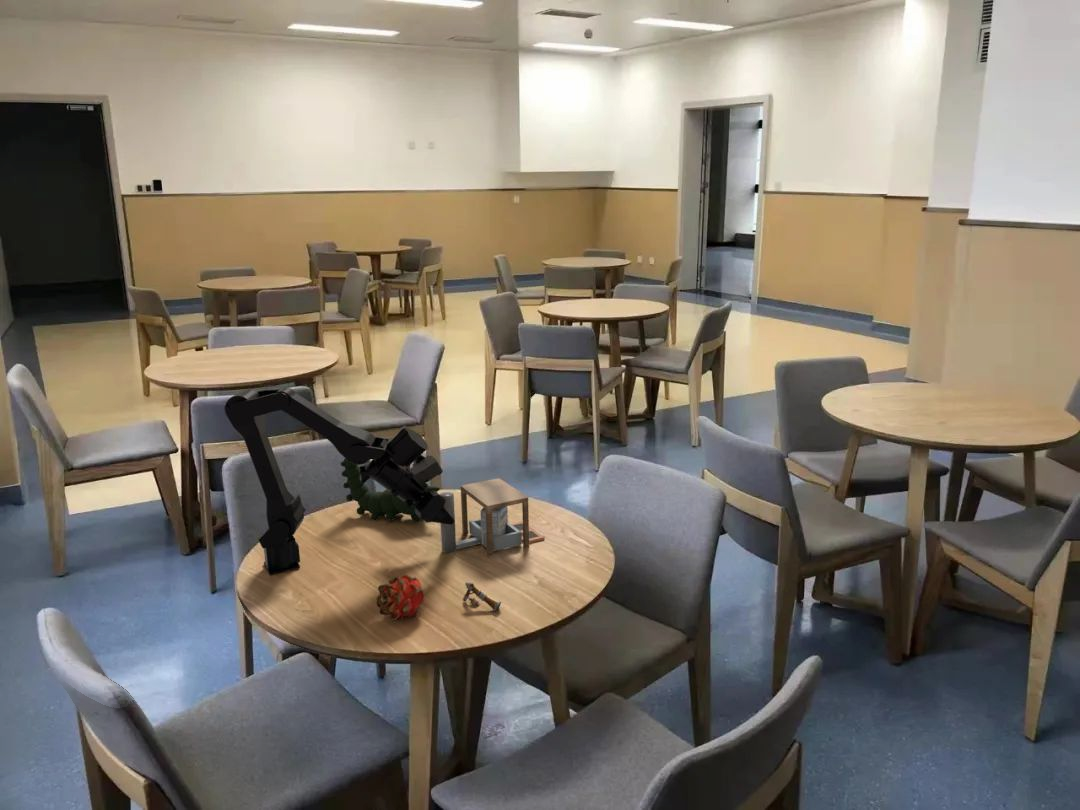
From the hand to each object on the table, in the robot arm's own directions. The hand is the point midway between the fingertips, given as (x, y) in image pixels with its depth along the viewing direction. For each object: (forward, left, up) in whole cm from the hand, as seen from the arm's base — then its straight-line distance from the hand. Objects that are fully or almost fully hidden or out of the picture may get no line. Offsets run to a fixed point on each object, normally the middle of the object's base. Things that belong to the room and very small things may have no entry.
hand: (445, 515), depth 181 cm
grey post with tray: (+7, 0, -8) cm, 11 cm away
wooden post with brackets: (-4, -27, -9) cm, 29 cm away
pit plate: (+20, 0, -9) cm, 21 cm away
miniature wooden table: (+12, 0, -9) cm, 15 cm away
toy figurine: (-4, +25, -9) cm, 27 cm away
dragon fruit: (-18, -22, -9) cm, 29 cm away
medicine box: (+12, 0, -9) cm, 15 cm away
